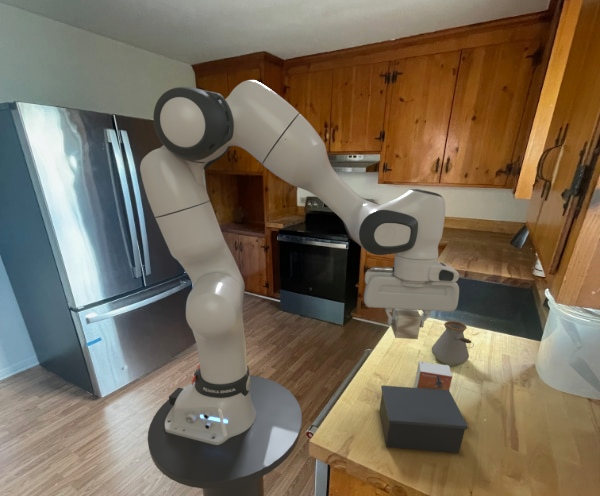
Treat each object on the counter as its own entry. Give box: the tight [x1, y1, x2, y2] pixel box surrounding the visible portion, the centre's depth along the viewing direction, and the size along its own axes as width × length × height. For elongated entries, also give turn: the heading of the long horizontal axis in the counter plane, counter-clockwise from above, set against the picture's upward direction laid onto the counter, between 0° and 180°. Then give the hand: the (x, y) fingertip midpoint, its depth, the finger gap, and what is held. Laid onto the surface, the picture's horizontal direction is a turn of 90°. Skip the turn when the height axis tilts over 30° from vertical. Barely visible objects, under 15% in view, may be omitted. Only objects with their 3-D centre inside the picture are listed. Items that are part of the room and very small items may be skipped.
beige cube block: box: [390, 309, 421, 340], centre depth 76 cm, size 5×6×6 cm
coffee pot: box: [431, 320, 475, 367], centre depth 103 cm, size 21×12×15 cm, turn 169°
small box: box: [413, 360, 453, 391], centre depth 88 cm, size 8×6×10 cm
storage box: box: [379, 384, 469, 454], centre depth 78 cm, size 17×13×8 cm
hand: (405, 325), depth 77 cm, fingers closed on beige cube block, 5 cm apart
